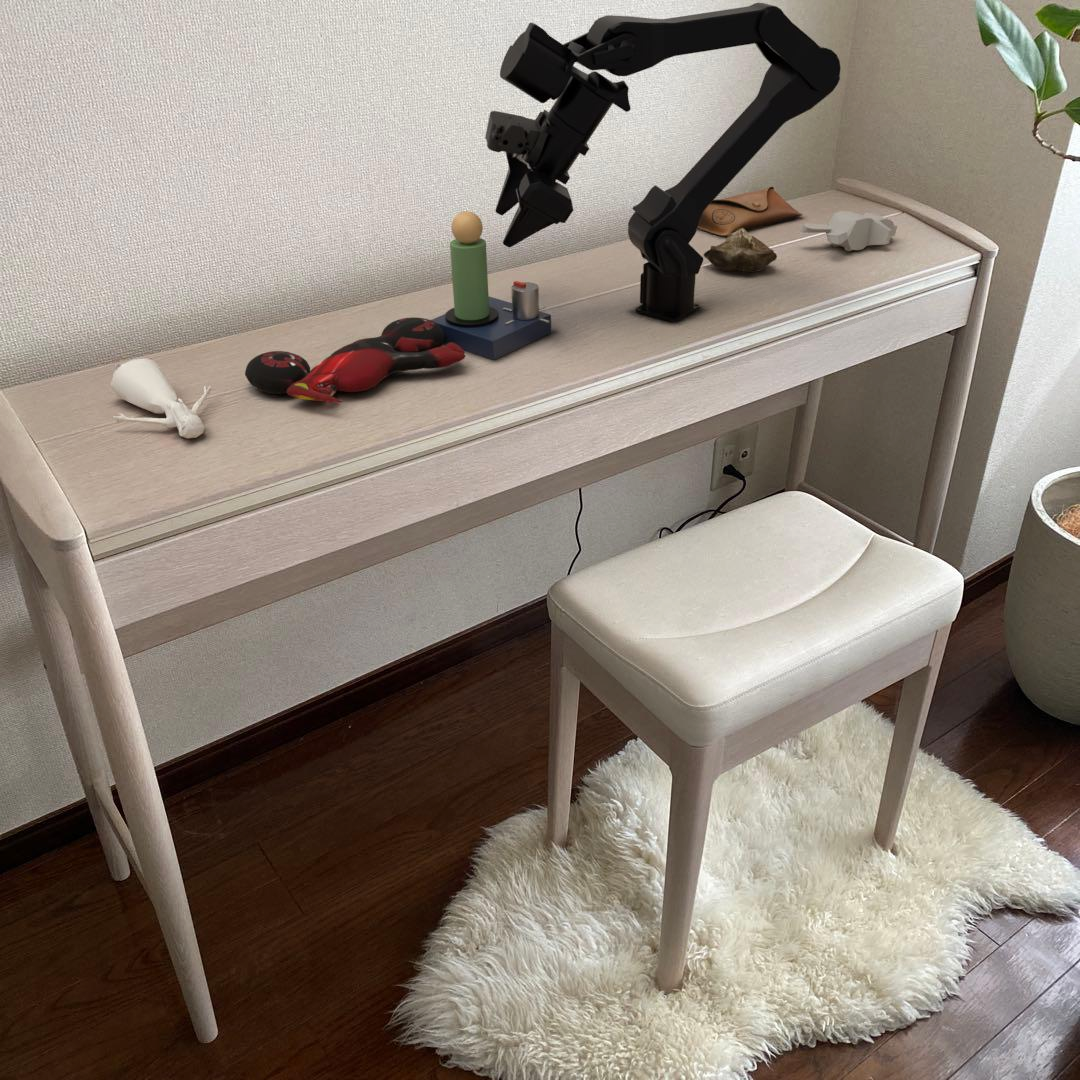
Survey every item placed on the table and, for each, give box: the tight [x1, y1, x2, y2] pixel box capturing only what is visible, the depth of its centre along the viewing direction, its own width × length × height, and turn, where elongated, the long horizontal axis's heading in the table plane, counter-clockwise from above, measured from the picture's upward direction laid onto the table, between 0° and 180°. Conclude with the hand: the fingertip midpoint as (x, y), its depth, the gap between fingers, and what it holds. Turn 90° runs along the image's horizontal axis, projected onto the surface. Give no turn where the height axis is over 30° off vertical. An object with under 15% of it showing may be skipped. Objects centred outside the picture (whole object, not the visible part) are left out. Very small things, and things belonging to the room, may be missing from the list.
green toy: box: [449, 210, 489, 320], centre depth 131 cm, size 4×4×13 cm
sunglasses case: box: [697, 186, 803, 237], centre depth 174 cm, size 18×7×7 cm
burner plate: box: [445, 306, 499, 328], centre depth 135 cm, size 7×7×1 cm
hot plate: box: [430, 296, 552, 361], centre depth 136 cm, size 12×12×3 cm
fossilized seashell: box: [703, 228, 778, 273], centre depth 154 cm, size 8×7×10 cm
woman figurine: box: [110, 357, 212, 440], centre depth 118 cm, size 12×4×18 cm
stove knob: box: [511, 280, 540, 320], centre depth 134 cm, size 3×3×4 cm
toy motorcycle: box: [244, 316, 467, 403], centre depth 125 cm, size 25×5×16 cm
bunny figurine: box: [799, 210, 898, 252], centre depth 162 cm, size 10×5×15 cm
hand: (502, 229), depth 134 cm, fingers open, 9 cm apart
